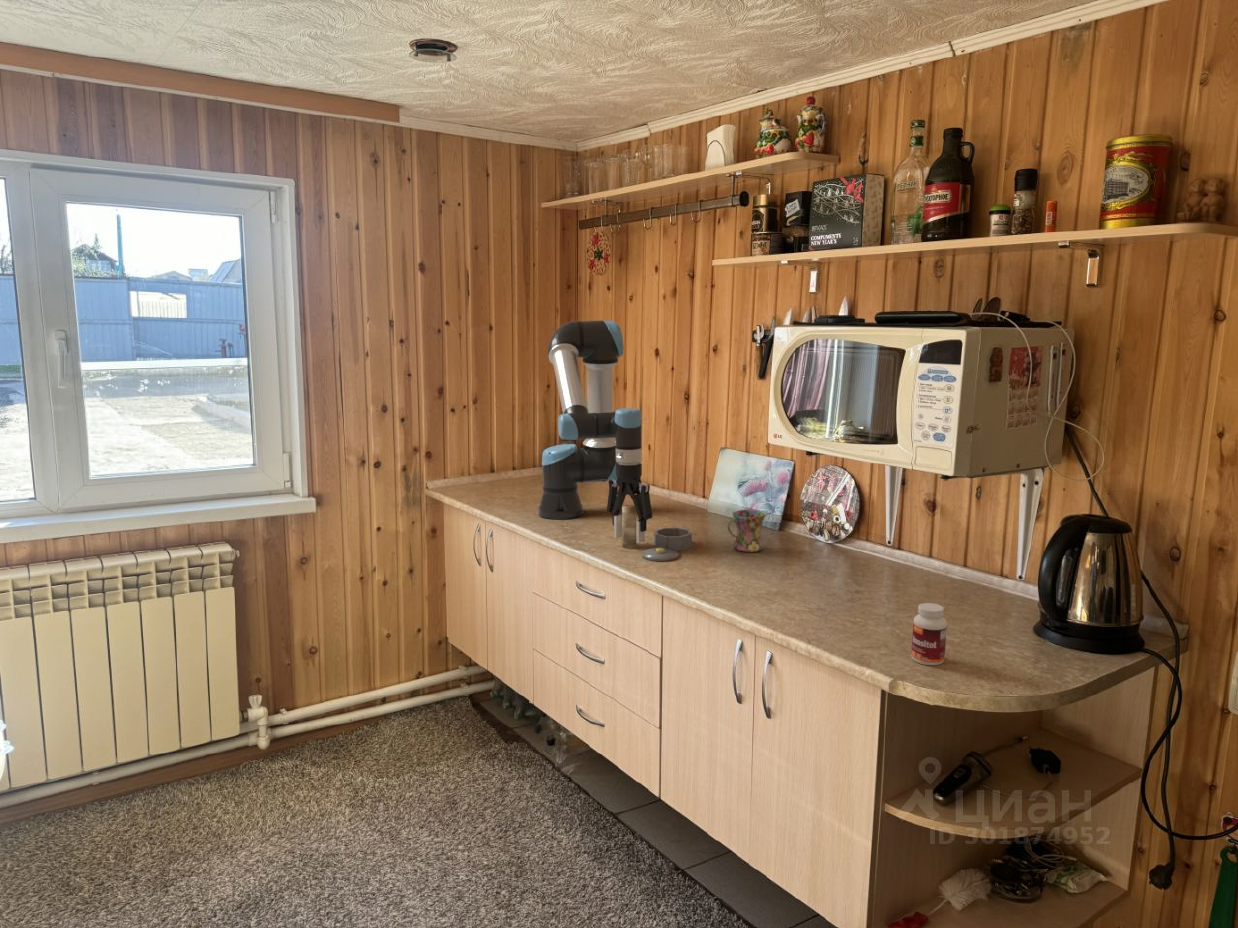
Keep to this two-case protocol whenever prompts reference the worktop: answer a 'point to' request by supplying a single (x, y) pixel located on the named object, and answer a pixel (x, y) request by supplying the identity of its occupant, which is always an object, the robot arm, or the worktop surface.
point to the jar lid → (660, 554)
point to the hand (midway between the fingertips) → (629, 539)
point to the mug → (748, 530)
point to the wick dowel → (629, 526)
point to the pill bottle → (929, 635)
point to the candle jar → (673, 538)
